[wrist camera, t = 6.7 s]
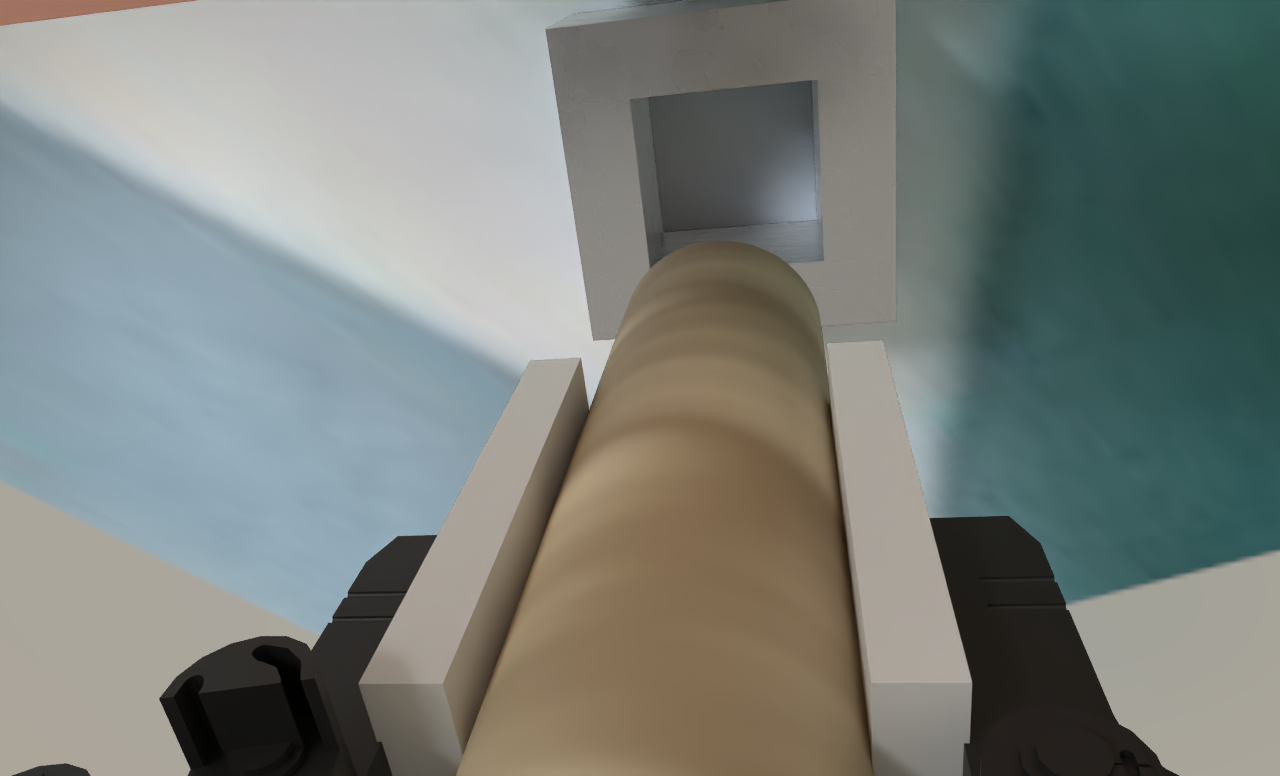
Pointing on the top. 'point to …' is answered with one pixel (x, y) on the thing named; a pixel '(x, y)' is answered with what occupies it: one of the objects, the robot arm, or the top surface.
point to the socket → (724, 59)
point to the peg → (691, 552)
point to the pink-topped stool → (66, 8)
